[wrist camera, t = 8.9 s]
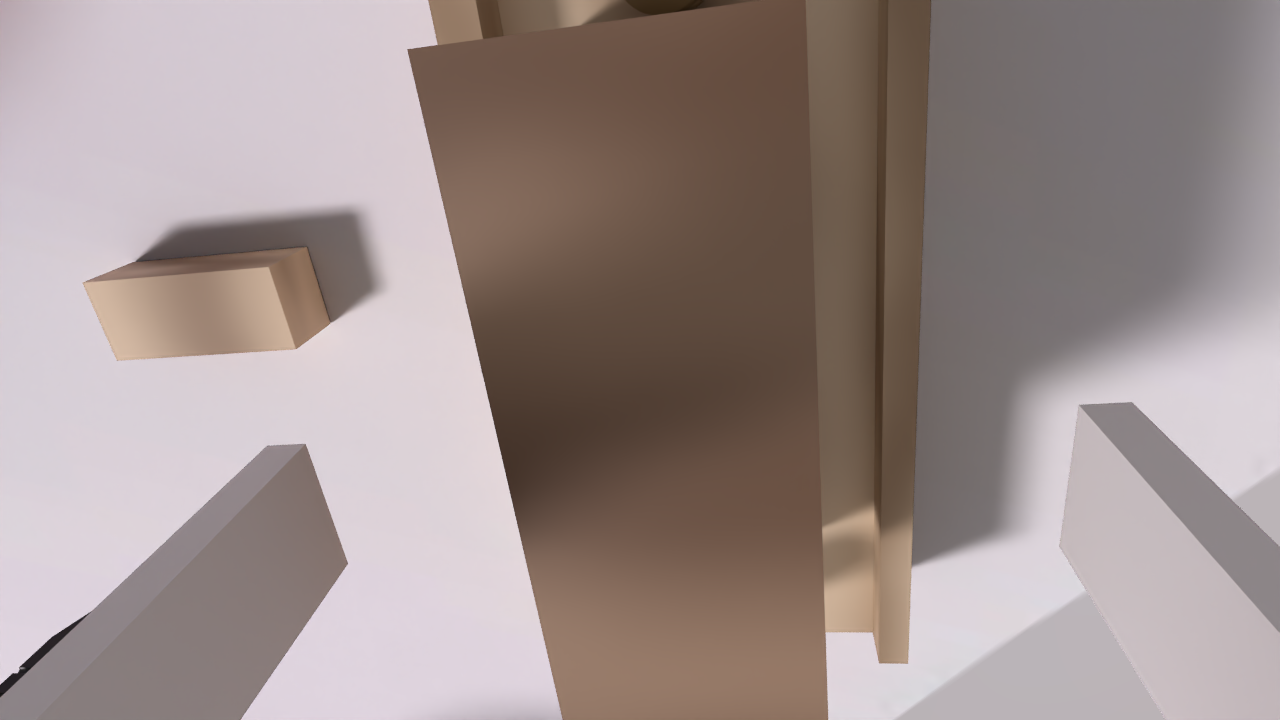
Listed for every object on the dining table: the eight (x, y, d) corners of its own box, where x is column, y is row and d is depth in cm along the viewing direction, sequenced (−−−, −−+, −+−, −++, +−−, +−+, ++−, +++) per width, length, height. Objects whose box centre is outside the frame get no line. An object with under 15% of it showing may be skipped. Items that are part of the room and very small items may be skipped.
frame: (801, 535, 22) (834, 849, 13) (646, 538, 22) (589, 836, 14) (778, 3, 16) (809, -7, 8) (571, 32, 17) (407, 49, 9)
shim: (163, 335, 25) (117, 360, 23) (133, 262, 24) (82, 282, 22) (330, 323, 24) (295, 349, 22) (306, 246, 23) (268, 267, 21)
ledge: (593, 578, 27) (554, 723, 21) (476, -61, 18) (365, -91, 13) (886, 576, 25) (925, 732, 19) (898, -127, 17) (971, -193, 11)
